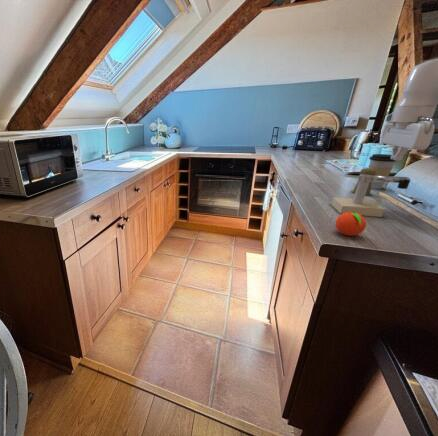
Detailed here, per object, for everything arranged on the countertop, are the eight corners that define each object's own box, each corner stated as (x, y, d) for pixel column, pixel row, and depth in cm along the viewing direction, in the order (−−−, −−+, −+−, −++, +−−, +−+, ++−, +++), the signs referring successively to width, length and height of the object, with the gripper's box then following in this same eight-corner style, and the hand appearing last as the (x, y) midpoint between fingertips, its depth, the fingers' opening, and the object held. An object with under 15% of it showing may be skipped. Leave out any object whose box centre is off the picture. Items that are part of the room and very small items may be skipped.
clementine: (369, 242, 68) (378, 219, 65) (341, 240, 69) (348, 217, 66) (353, 230, 75) (360, 208, 72) (328, 228, 76) (334, 207, 73)
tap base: (368, 207, 92) (378, 178, 88) (381, 217, 83) (393, 186, 79) (331, 204, 96) (338, 177, 91) (340, 213, 87) (349, 183, 83)
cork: (368, 192, 109) (377, 167, 104) (371, 196, 104) (380, 170, 100) (351, 190, 112) (359, 166, 107) (353, 194, 107) (361, 169, 103)
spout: (403, 186, 84) (407, 176, 82) (409, 189, 81) (414, 178, 79) (354, 184, 88) (357, 174, 87) (358, 186, 85) (362, 176, 83)
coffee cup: (386, 191, 109) (398, 157, 103) (359, 187, 115) (369, 155, 109) (386, 187, 116) (398, 154, 110) (361, 183, 122) (371, 153, 116)
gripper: (449, 116, 68) (427, 166, 73) (405, 116, 86) (391, 155, 91) (420, 117, 70) (401, 165, 75) (383, 116, 88) (370, 155, 93)
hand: (395, 160), depth 83 cm, fingers closed
